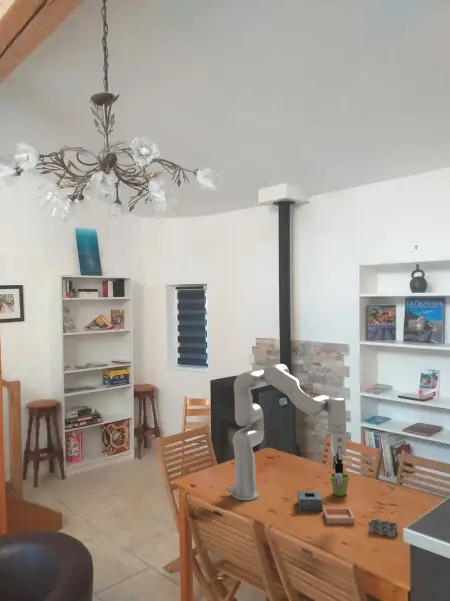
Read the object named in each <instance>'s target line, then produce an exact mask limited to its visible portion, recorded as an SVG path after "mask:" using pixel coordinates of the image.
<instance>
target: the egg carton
mask: <svg viewBox="0 0 450 601" xmlns="http://www.w3.org/2000/svg"><path fill="white" fill-rule="evenodd" d="M367 524H368V531H369V532H371V533H372V534H374V533H378V534H379V535H382V536H383V535H385V536H388V537H389V538H392V537H396V533H395V532H397V533H398V525H399V524H398V521H396V522H394V521H389V520H383V519H380V518H373V519H371V520H370V521H368V522H367Z"/></svg>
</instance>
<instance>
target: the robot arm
mask: <svg viewBox="0 0 450 601" xmlns="http://www.w3.org/2000/svg"><path fill="white" fill-rule="evenodd" d="M270 385H272V386H273V387H274V388H275V389H277V390H279V391H281V392H282V393H283V394H285V395H286V396H288V398H289V400H290V401H291V403H292V404H293V405H294V406H295V407H296V408H297V409H299V410H300V411H302V412H303V413H305V414H306V415H308V416H311V417H317V416H320V415H322V414H326V413H327V432H329V433H330V449H331V453H332V457H333V459H335V460H336V463H335V466H334V463H333V462H332V465H333V466H332V468H333V470H334V473H344V462H343V457H346V456H347V448H346V447H347V446H346V435H345V433H346V432H347V412H346V411H347V410H346V409H347V408H346V399H345V398H342V397H338V396H337V397H331V396H328V395H324V394H323V395H322V394H320V395H317V396H314V397H312V396H310V395H309V394H307V393H305V392H304V391H303V390H302V389H301V388H300V380H299V379H298V378H296V377H294V376H293V375H291V374H290V370H289V368H288V367H287V365H285V364H284V363H276V364H275V363H274V364H270V365H268V366H266V367H262V368H257V369H254V370H253V369H252V370H248V371H245V372H243V373H241V374H239V375H238V376H237V377H236V378H235V379H234V383H233V393H234V419H235V424H237V425H238V426H239V427H243V428H241V429H239V430H237V431H236V432H235V433H234V434H233V435H232V436H233V437H232V445H233V451H234V480H235V481H234V482H235V483H234V485H232V486H225V491H228V493H231V497H232V498H234V499H235V500H239V501H252V500H256V499H257V498H259V495H260V493H259V491H257V490H256V456H255V453H254V450H253V447H255V446H257V445H259V444H260V443H262V442H263V440H264V436H265V433H264V432H265V431H264V427H265V425H264V412H263V408H262V407H261V406H260V405H259V404H258V403H256V402H254V403H253V400H254V399H253V394H252V392H251V390H254V389H258V388H262V387H266V386H270ZM333 459H332V460H333Z"/></svg>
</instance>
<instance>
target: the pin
mask: <svg viewBox="0 0 450 601" xmlns="http://www.w3.org/2000/svg"><path fill="white" fill-rule="evenodd" d="M333 463H334V466H335V463H336V460H335V459H332V464H333ZM334 473H335V472H334ZM335 485H338V486H341V485H343V484H342V473H335Z"/></svg>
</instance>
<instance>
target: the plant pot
mask: <svg viewBox="0 0 450 601" xmlns="http://www.w3.org/2000/svg"><path fill="white" fill-rule="evenodd" d="M350 477H351V476H350V475H349V474H348V473H346V472H343V473H342V484H343V485H341V486H338V485H335V472H331V473H330V474H329V478H330V480H331V486H332V487H331V488H332V493H333V495H336V496H338V497H343V496H346V495H347V492H348V484H349V480H350Z"/></svg>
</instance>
